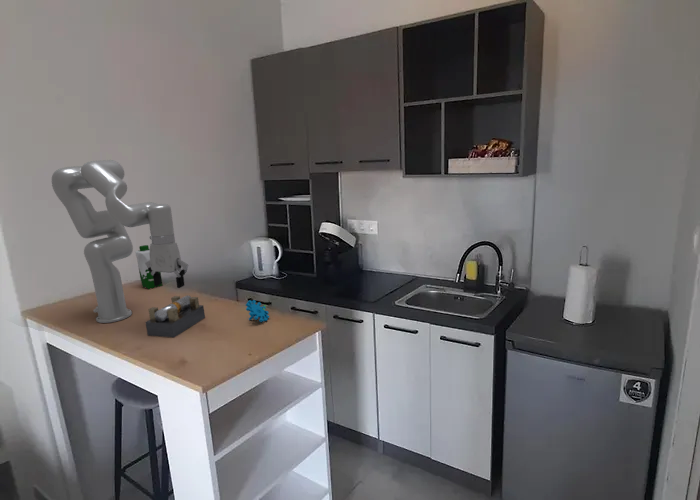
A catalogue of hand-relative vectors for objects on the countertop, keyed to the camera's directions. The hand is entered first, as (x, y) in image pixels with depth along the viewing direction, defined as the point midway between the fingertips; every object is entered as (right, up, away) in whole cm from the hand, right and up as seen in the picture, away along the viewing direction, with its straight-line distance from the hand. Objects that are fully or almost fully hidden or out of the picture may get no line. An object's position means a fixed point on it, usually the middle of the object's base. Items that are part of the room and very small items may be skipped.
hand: (169, 285), depth 157 cm
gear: (+31, -13, +4) cm, 34 cm away
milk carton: (-31, -5, +56) cm, 64 cm away
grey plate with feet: (+2, -15, +3) cm, 15 cm away
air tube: (+1, -8, +2) cm, 8 cm away
